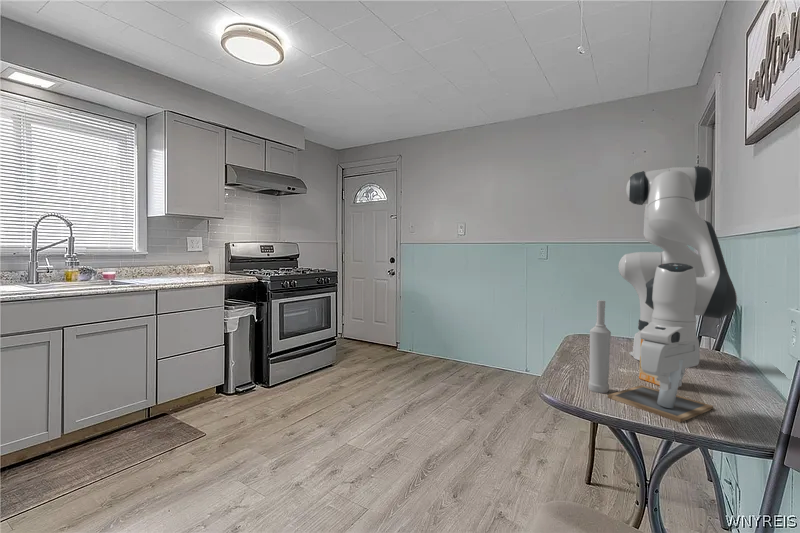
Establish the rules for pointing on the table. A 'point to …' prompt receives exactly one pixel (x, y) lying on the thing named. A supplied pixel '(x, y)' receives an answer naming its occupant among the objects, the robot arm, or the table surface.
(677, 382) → the chalk
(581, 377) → the table surface
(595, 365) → the bottle
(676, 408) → the slate board
